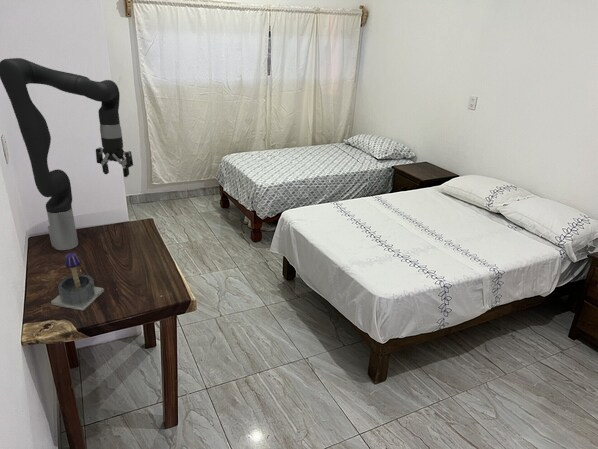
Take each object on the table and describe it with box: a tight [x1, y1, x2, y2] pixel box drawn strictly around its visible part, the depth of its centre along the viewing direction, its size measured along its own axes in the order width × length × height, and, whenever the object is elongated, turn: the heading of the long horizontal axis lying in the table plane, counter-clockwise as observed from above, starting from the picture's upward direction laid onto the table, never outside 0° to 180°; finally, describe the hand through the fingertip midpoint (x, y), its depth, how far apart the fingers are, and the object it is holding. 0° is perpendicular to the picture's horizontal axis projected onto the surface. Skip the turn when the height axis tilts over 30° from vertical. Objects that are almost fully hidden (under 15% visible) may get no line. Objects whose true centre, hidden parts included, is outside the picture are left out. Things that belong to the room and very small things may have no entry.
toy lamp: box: [64, 252, 81, 290], centre depth 148 cm, size 5×5×17 cm
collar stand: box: [50, 273, 105, 311], centre depth 151 cm, size 12×12×6 cm
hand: (116, 175), depth 172 cm, fingers open, 8 cm apart
